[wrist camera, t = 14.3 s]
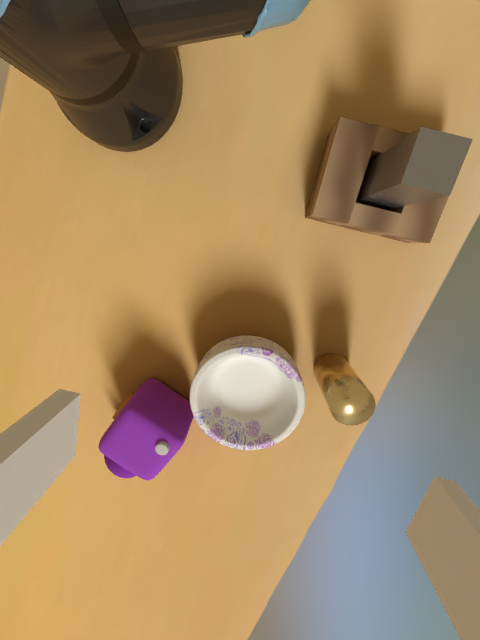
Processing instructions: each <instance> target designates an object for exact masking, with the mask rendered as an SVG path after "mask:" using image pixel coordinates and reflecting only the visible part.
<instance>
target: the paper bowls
mask: <svg viewBox="0 0 480 640" xmlns="http://www.w3.org/2000/svg"><path fill="white" fill-rule="evenodd" d="M305 402H306V394H305V388H304V384H303V381H302V378H301V376H300V372H299V370H298V367H297V366H296V364H295V362H294V360H293V359H292V357H291V356H290V355H289V353H288V352H287V351H286V350H285V349H283V348H282V347H281V346H280V345H278V344H277V343H275V342H273V341H271V340H269V339H266V338H263V337H258V336H250V335H242V336H234V337H230V338H228V339H225V340H223V341H221V342H219V343H218V344H216V345H215V346H213V347H212V348H211V349H210V350H209V351H208V352H207V353H206V354H205V356H204V357H203V358H202V360H201V361H200V363H199V365H198V368H197V370H196V372H195V374H194V377H193V379H192V382H191V386H190V406H191V410H192V413H193V416H194V418H195V420H196V422H197V423H198V425H199V426H200V428H201V429H202V430H203V431H204V432H205V433H206V434H207V435H208V436H209V437H211V438H212V439H213V440H215V441H217V442H219V443H221V444H223V445H225V446H228V447H231V448H235V449H240V450H256V449H262V448H266V447H269V446H272V445H274V444H276V443H278V442H280V441H282V440H283V439H284V438H286V437H287V436H288V435H289V434H290V433H291V432H292V431H293V430H294V429H295V428H296V426H297V425H298V423H299V422H300V420H301V418H302V415H303V412H304V408H305Z"/></svg>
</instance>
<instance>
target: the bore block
mask: <svg viewBox="0 0 480 640" xmlns="http://www.w3.org/2000/svg"><path fill="white" fill-rule="evenodd" d="M408 135H409V133H405V132H401V131H397V130H393V129H388V128H384V127H380V126H376V125H372V124H368V123H364V122H360V121H356V120H352V119H348V118H344V117H340V118H339V120H338V121H337V122H336V124H335V125H334V127H333V128H332V130H331V131H330V133H329V135H328V138H327V142H326V146H325V149H324V153H323V156H322V160H321V163H320V167H319V171H318V174H317V178H316V181H315V185H314V189H313V192H312V196H311V199H310V203H309V206H308V210H307V214H306V217H305V218H308V219H312V220H316V221H320V222H324V223H328V224H333V225H337V226H341V227H345V228H349V229H353V230H357V231H361V232H366V233H370V234H374V235H378V236H382V237H386V238H390V239H394V240H398V241H403V242H407V243H430V241H431V239H432V236H433V234H434V231H435V229H436V226H437V224H438V222H439V219H440V217H441V214H442V212H443V209H444V207H445V204H446V202H447V199H448V197H449V196H446V197H441V198H437V199H432V200H428V201H424V202H419V203H415V204H411V205H406V206H402V207H398V208H393V209H389V210H384V209H380V208H376V207H372V206H368V205H363V204H359V203H355V202H356V199H357V196H358V193H359V190H360V187H361V183H362V180H363V177H364V174H365V171H366V168H367V165H368V163H369V162H370V161H372V160H373V159H374V158H376V157H377V156H379V155H380V154H382V153H383V152H385V151H386V150H388V149H389V148H390V147H392V146H393V145H395V144H396V143H398V142H399V141H401V140H402V139H404V138H405V137H406V136H408Z"/></svg>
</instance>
